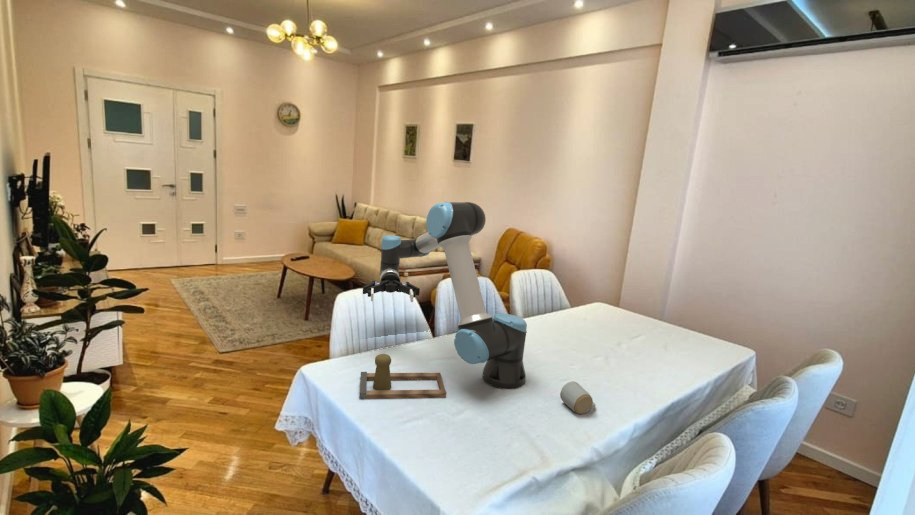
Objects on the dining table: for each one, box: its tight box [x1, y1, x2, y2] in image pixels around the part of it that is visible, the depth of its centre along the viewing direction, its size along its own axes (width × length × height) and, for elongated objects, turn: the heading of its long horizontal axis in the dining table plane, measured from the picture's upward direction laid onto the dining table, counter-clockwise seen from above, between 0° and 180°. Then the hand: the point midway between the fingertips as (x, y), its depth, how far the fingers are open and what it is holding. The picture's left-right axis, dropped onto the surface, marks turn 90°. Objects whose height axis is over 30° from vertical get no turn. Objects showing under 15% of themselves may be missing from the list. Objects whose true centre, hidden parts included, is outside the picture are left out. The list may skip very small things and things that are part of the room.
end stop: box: [358, 371, 368, 400], centre depth 146 cm, size 2×14×2 cm, turn 10°
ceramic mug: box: [559, 381, 597, 415], centre depth 144 cm, size 11×8×8 cm
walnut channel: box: [365, 372, 447, 400], centre depth 148 cm, size 25×14×2 cm, turn 100°
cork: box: [372, 353, 392, 390], centre depth 146 cm, size 6×6×11 cm
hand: (392, 298), depth 155 cm, fingers open, 13 cm apart
